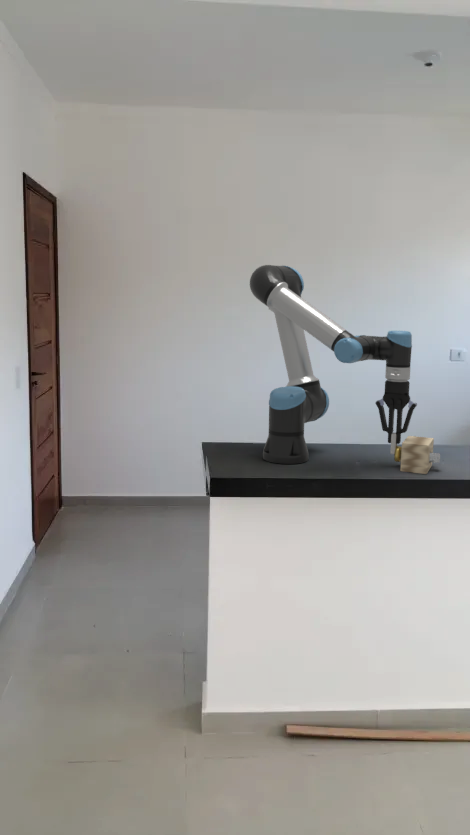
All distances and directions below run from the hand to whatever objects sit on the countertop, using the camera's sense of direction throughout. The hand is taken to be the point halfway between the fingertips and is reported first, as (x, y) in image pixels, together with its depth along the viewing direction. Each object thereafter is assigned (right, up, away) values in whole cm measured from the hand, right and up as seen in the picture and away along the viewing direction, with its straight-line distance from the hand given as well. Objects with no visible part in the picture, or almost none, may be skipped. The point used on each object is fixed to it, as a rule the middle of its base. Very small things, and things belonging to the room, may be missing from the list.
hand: (393, 453), depth 223 cm
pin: (+7, -3, -2) cm, 8 cm away
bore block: (+7, -5, -2) cm, 8 cm away
